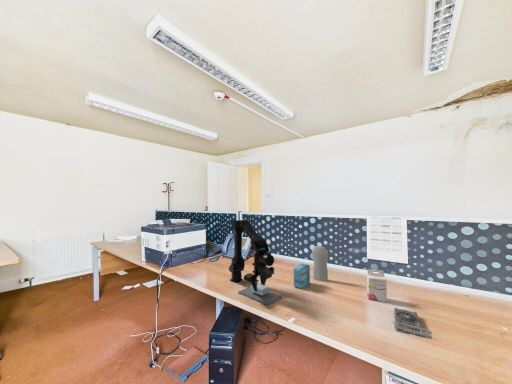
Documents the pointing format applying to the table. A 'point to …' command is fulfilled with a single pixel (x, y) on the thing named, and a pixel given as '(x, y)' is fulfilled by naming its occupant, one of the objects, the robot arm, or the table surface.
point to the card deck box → (260, 289)
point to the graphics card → (409, 323)
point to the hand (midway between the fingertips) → (259, 289)
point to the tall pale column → (320, 263)
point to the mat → (263, 299)
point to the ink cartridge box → (376, 286)
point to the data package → (301, 275)
